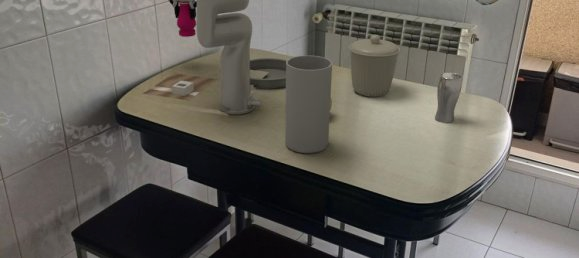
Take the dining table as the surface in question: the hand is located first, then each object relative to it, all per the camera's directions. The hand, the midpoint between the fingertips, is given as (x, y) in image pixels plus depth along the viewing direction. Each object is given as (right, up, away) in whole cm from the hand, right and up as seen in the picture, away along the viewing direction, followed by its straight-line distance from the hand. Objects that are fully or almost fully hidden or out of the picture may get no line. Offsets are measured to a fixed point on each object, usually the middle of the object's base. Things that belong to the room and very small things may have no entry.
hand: (185, 17), depth 203 cm
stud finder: (+2, -29, -15) cm, 33 cm away
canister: (+69, -29, -8) cm, 75 cm away
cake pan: (+31, -23, +4) cm, 39 cm away
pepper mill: (0, -6, +3) cm, 7 cm away
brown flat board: (0, -28, -9) cm, 29 cm away
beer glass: (+89, -39, -29) cm, 102 cm away
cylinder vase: (+44, -47, -46) cm, 79 cm away
